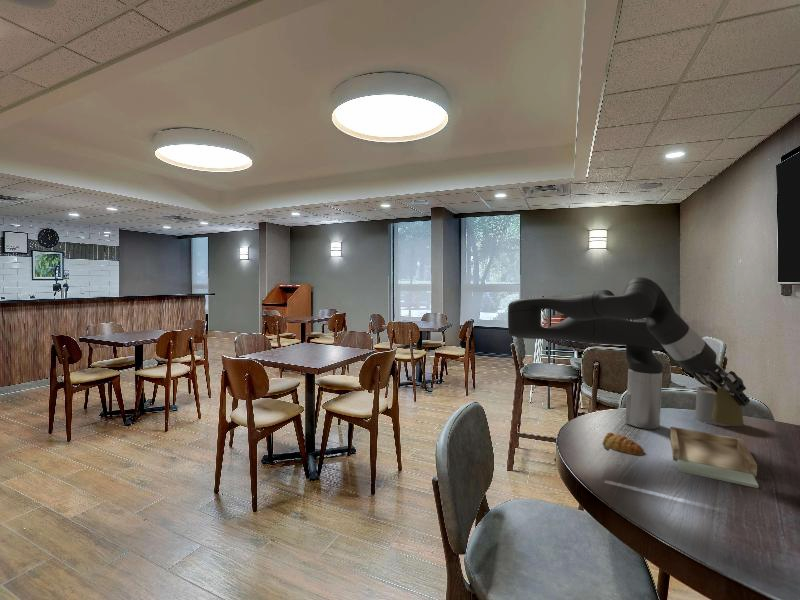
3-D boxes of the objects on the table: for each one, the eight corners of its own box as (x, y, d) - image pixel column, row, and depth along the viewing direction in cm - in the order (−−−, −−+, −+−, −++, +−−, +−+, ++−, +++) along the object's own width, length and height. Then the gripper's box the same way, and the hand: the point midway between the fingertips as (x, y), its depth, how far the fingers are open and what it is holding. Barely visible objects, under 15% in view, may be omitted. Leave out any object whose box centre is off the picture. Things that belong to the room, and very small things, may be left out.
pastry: (647, 454, 108) (648, 440, 107) (636, 461, 103) (637, 446, 103) (611, 442, 115) (611, 429, 115) (599, 448, 111) (600, 435, 110)
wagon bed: (673, 462, 102) (673, 448, 102) (670, 438, 118) (670, 426, 118) (756, 479, 94) (757, 464, 94) (741, 451, 110) (742, 438, 109)
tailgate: (677, 463, 102) (678, 473, 96) (677, 458, 101) (678, 468, 96) (752, 479, 94) (758, 490, 89) (752, 474, 94) (758, 485, 89)
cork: (704, 417, 99) (706, 372, 98) (727, 417, 99) (729, 372, 99) (726, 426, 93) (729, 378, 92) (750, 425, 93) (753, 378, 93)
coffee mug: (735, 428, 127) (737, 396, 126) (695, 421, 132) (697, 391, 132) (730, 416, 138) (732, 387, 137) (694, 410, 143) (695, 382, 143)
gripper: (656, 354, 103) (702, 402, 103) (697, 365, 89) (750, 421, 89) (678, 333, 103) (724, 381, 103) (723, 341, 88) (775, 397, 89)
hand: (735, 399), depth 96 cm, fingers closed on cork, 5 cm apart
